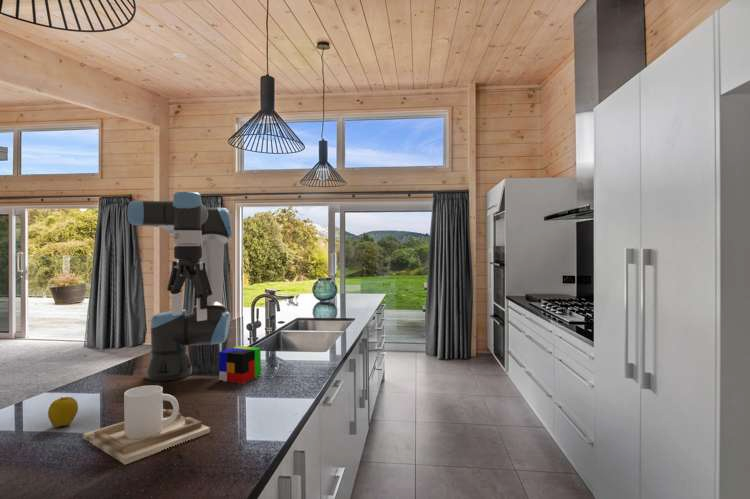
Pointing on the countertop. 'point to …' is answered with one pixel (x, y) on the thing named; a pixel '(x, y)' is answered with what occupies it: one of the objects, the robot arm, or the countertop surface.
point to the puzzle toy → (239, 364)
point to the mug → (146, 411)
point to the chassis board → (135, 449)
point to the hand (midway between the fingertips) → (189, 317)
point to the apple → (62, 411)
